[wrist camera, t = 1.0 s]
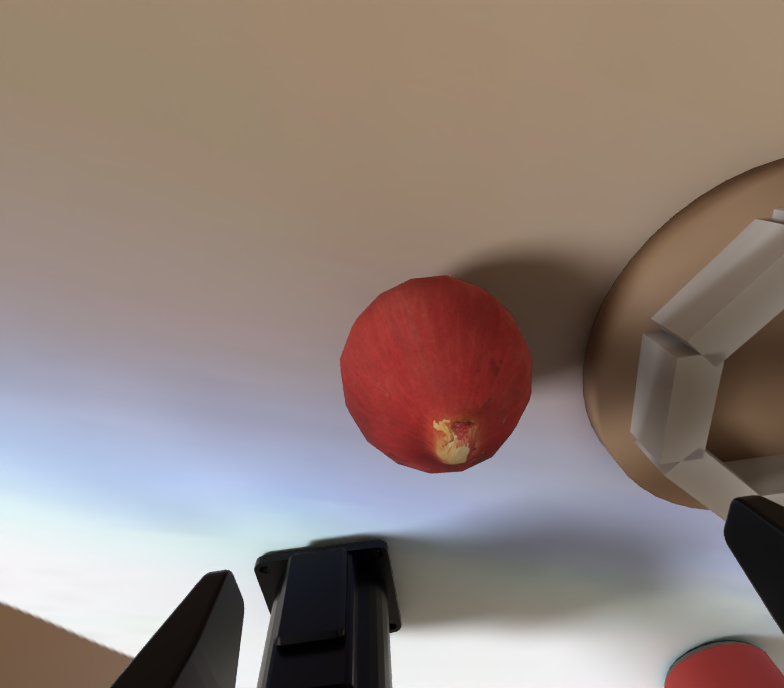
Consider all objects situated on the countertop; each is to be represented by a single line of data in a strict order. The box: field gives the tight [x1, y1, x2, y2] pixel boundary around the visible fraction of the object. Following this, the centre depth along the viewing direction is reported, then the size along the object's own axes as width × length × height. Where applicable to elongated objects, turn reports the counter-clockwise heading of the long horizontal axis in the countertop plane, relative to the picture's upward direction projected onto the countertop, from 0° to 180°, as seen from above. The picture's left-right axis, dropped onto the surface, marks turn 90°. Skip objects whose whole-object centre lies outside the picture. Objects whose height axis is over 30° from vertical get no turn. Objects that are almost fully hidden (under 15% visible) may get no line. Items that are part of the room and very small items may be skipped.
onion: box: [340, 275, 532, 473], centre depth 14 cm, size 6×6×8 cm
